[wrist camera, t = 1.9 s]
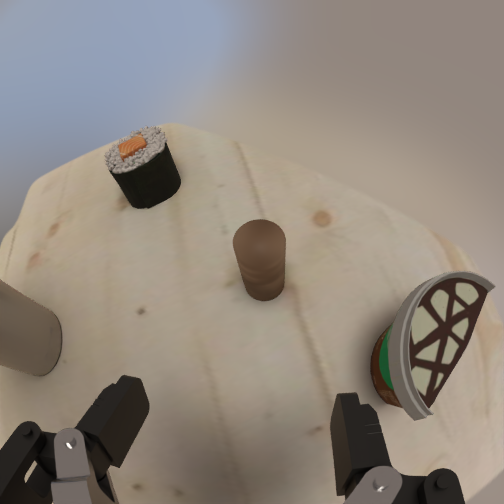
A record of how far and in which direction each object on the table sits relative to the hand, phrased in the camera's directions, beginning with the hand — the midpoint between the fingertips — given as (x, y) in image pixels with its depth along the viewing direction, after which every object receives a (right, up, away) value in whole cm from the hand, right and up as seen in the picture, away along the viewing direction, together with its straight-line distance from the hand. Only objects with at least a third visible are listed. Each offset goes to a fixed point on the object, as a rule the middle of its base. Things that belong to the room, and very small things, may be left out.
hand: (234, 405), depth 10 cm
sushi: (-13, +15, +27) cm, 34 cm away
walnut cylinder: (+2, +3, +18) cm, 19 cm away
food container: (+14, -3, +14) cm, 20 cm away
